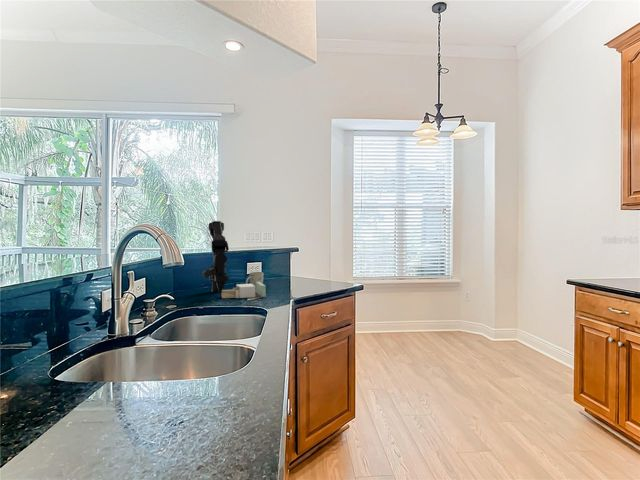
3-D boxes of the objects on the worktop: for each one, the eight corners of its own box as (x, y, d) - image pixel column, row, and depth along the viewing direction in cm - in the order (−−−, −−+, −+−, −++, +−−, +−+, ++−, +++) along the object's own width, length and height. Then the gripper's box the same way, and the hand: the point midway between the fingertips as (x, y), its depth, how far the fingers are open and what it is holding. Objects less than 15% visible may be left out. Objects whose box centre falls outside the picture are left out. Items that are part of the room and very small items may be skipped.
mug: (266, 289, 218) (266, 272, 217) (252, 292, 207) (251, 274, 207) (256, 288, 222) (256, 271, 222) (241, 291, 212) (240, 273, 211)
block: (232, 295, 200) (232, 284, 200) (251, 293, 204) (251, 283, 204) (236, 298, 191) (235, 287, 191) (255, 296, 195) (255, 286, 195)
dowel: (221, 297, 194) (221, 290, 194) (244, 296, 199) (244, 288, 199) (222, 299, 191) (222, 291, 191) (245, 297, 196) (245, 289, 196)
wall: (255, 292, 207) (255, 282, 207) (259, 292, 208) (259, 281, 208) (261, 297, 194) (261, 285, 194) (265, 296, 195) (265, 285, 195)
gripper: (201, 262, 197) (201, 291, 198) (205, 265, 180) (205, 297, 181) (222, 261, 202) (223, 289, 202) (228, 264, 184) (228, 295, 185)
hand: (219, 293), depth 192 cm, fingers closed
